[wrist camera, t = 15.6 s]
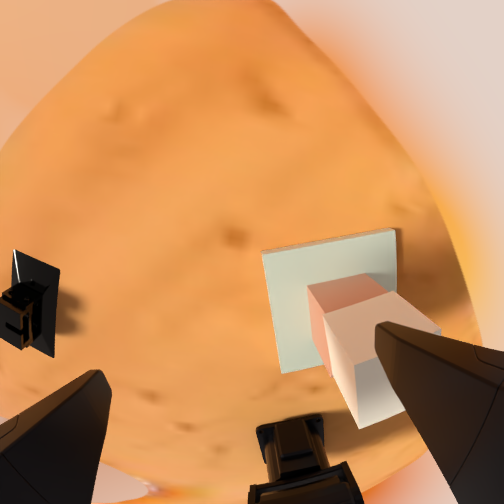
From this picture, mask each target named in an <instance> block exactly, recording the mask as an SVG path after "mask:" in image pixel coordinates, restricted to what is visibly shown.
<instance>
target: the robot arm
mask: <svg viewBox="0 0 504 504" xmlns="http://www.w3.org/2000/svg"><path fill="white" fill-rule="evenodd" d="M374 347H375V352H376V354H377V356H378V358H379V360H380V363H381V365H382V367H383V369H384V371H385V373H386V376H387V378H388V380H389V382H390V384H391V386H392V388H393V390H394V392H395V393H396V395H397V397H398V398H399V400H400V402H401V403H402V405H403V406H404V408H405V410H406V411H407V413H408V415H409V416H410V418H411V420H412V421H413V423H414V425H415V427H416V428H417V430H418V432H419V433H420V435H421V437H422V438H423V440H424V442H425V444H426V445H427V447H428V449H429V451H430V452H431V454H432V456H433V458H434V459H435V461H436V463H437V465H438V467H439V468H440V470H441V472H442V474H443V476H444V477H445V479H446V481H447V483H448V485H449V486H450V489H451V490H452V492H453V494H454V496H455V498H456V500H457V502H458V504H504V352H503V351H498V350H494V349H489V348H485V347H481V346H477V345H474V346H473V344H469V343H466V342H462V341H458V340H454V339H451V338H447V337H443V336H440V335H436V334H432V333H429V332H425V331H421V330H418V329H414V328H411V327H407V326H404V325H400V324H397V323H393V322H390V321H385V322H381V323H378V324H376V326H375V342H374ZM111 398H112V390H111V388H110V386H109V384H108V382H107V379H106V377H105V375H104V373H103V372H102V371H101V370H89V371H87V372H86V373H84V374H83V375H81V376H79V377H78V378H76V379H75V380H73V381H71V382H70V383H68V384H67V385H65V386H63V387H62V388H60V389H59V390H57V391H55V392H54V393H52V394H51V395H49V396H47V397H46V398H44V399H42V400H41V401H39V402H38V403H36V404H34V405H33V406H31V407H29V408H28V409H26V410H24V411H23V412H21V413H20V414H19V415H16V416H15V417H13V418H11V419H10V420H8V421H6V422H4V423H3V424H1V425H0V504H91V500H92V495H93V490H94V485H95V480H96V475H97V470H98V465H99V461H100V457H101V452H102V448H103V444H104V440H105V435H106V431H107V425H108V418H109V411H110V404H111ZM261 430H262V431H261ZM256 434H257V438H258V442H259V445H260V449H261V452H262V456H263V459H264V463H265V464H267V471H268V478H269V483H265V484H259V485H256V484H254V485H250V492H248V504H364V501H363V498H362V495H361V492H360V489H359V487H358V485H357V483H356V481H355V478H354V476H353V474H352V472H351V470H350V468H349V466H348V464H347V462H346V461H344V462H342V463H340V464H338V465H335V466H332V467H330V465H329V462H328V459H327V456H326V452H325V449H324V428H323V418H322V415H320V414H318V415H313V416H309V417H304V418H300V419H295V420H290V421H285V422H280V423H275V424H269V425H264V426H259V427H257V428H256Z"/></svg>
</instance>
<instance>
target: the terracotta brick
mask: <svg viewBox="0 0 504 504" xmlns="http://www.w3.org/2000/svg"><path fill="white" fill-rule="evenodd" d="M385 293H388V291H387V290H386V289H384V288H383V287H382V286H381V285H379V284H378V283H377V282H376V281H374V280H373V279H372V278H370V277H369V276H368V275H367V274H365V273H363V274H358V275H354V276H349V277H345V278H340V279H335V280H331V281H326V282H321V283H316V284H311V285H307V294H308V303H309V312H310V322H311V332H312V340H313V342H314V344H315V346H316V348H317V350H318V352H319V354H320V356H321V359H322V361H323V363H324V365H325V367H326V369H327V371H328V373H329V375H330V378H331V377H334V376H333V374H332V367H331V361H330V355H329V349H328V343H327V338H326V332H325V326H324V321H323V316H322V314H326V313H329V312H332V311H335V310H338V309H341V308H344V307H347V306H350V305H353V304H356V303H359V302H362V301H365V300H368V299H371V298H374V297H377V296H380V295H382V294H385Z"/></svg>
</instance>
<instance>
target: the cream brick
mask: <svg viewBox="0 0 504 504" xmlns="http://www.w3.org/2000/svg"><path fill="white" fill-rule="evenodd" d="M322 316H323V321H324V326H325V332H326V338H327V343H328V349H329V355H330V361H331V367H332V374H333V376H334V378H335V380H336V383H337V385H338V387H339V389H340V391H341V393H342V395H343V397H344V399H345V401H346V403H347V405H348V407H349V409H350V411H351V414H352V416H353V418H354V420H355V422H356V424H357V426H358V428H359V429H362V428H364V427H367V426H369V425H372V424H375V423H377V422H380V421H382V420H384V419H387V418H389V417H391V416H394V415H396V414H398V413H401V412H403V411H405V408H404V406H403V405H402V403H401V402H400V400H399V398H398V397H397V395H396V393H395V392H394V390H393V388H392V386H391V384H390V382H389V380H388V378H387V376H386V373H385V371H384V369H383V367H382V365H381V363H380V360H379V358H378V356H377V354H376V352H375V347H374V342H375V326H376V324H378V323H381V322H385V321H390V322H393V323H397V324H400V325H404V326H407V327H411V328H414V329H418V330H421V331H425V332H429V333H432V334H436V335H440V336H441V328H440V327H438V326H437V325H436V324H435V323H434V322H432V321H431V320H430V319H429V318H427V317H426V316H425V315H424V314H422V313H421V312H420V311H419V310H417V309H416V308H415V307H414V306H412V305H411V304H410V303H409V302H407V301H406V300H405V299H403V298H402V297H401V296H400V295H398V294H397V293H396V292H394V291H391V292H388V293H385V294H382V295H380V296H377V297H374V298H371V299H368V300H365V301H362V302H359V303H356V304H353V305H350V306H347V307H344V308H341V309H338V310H335V311H332V312H329V313H326V314H322Z"/></svg>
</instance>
